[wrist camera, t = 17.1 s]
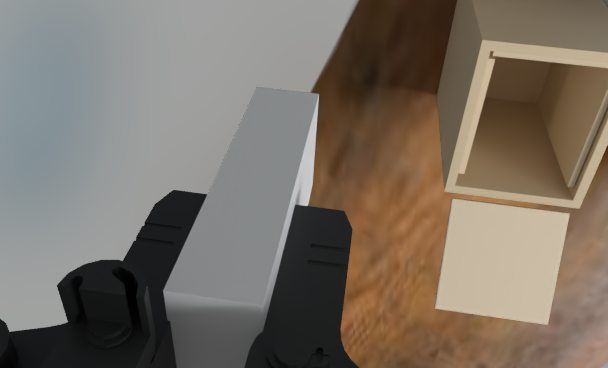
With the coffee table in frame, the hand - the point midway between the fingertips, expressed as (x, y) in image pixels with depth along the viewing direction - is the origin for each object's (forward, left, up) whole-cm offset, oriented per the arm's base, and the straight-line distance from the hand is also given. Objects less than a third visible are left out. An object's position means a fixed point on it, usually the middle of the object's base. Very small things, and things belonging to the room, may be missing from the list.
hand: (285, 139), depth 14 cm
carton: (+12, -11, -34) cm, 38 cm away
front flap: (+12, -20, -18) cm, 30 cm away
